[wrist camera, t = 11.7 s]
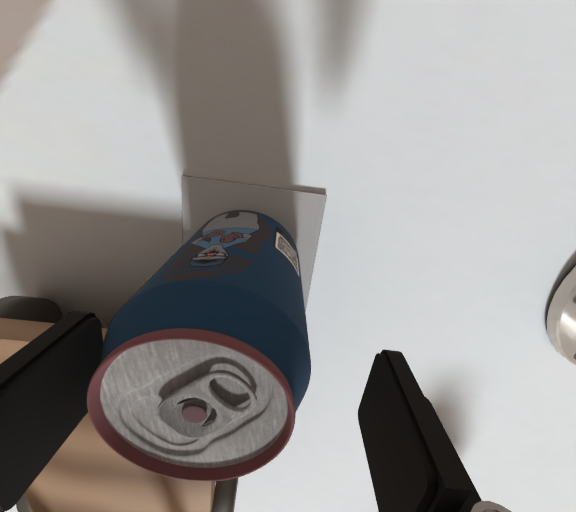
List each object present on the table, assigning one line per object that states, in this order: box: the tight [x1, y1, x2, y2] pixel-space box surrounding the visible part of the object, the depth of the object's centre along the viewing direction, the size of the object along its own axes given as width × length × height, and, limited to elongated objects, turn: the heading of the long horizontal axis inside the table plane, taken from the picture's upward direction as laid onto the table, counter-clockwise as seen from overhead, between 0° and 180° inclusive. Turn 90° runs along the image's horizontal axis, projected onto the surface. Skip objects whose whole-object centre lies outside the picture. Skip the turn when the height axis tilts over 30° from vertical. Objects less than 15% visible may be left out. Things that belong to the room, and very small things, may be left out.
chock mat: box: [182, 176, 327, 311], centre depth 19 cm, size 9×9×1 cm
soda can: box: [87, 210, 311, 481], centre depth 13 cm, size 7×7×12 cm
